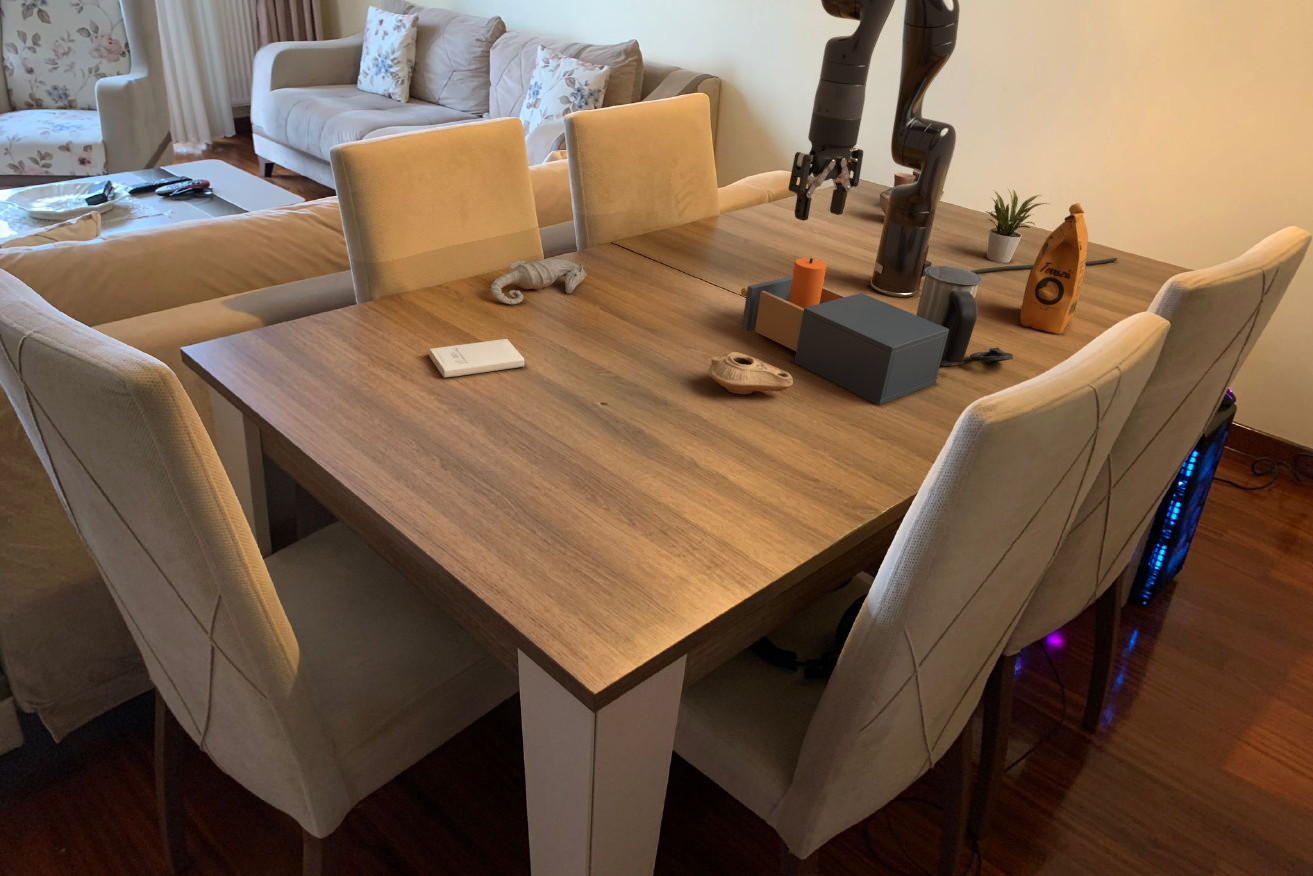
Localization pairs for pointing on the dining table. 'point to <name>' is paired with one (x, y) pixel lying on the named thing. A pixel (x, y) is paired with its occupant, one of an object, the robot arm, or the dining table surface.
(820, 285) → the candle
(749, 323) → the drawer
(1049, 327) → the coffee package
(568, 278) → the seahorse
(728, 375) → the pottery oil lamp
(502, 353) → the hard drive
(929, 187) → the robot arm
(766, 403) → the dining table surface
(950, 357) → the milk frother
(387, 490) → the dining table surface
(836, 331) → the cabinet
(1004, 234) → the house plant
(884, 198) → the pottery
